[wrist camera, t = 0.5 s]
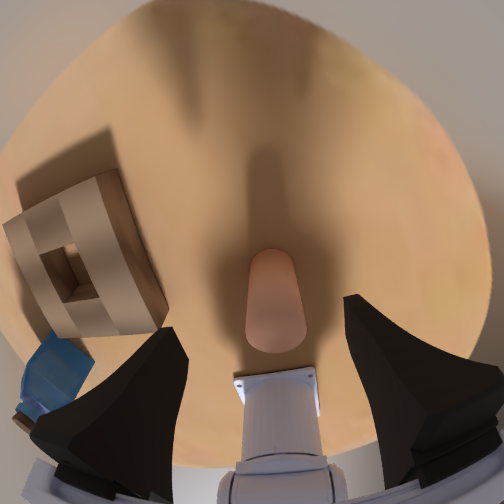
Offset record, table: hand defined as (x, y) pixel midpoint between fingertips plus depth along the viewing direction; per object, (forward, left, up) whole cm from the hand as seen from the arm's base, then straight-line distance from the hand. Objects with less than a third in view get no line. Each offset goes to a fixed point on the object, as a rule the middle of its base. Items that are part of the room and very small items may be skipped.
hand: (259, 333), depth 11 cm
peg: (-2, 0, -9) cm, 10 cm away
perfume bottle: (-9, +26, -10) cm, 29 cm away
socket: (+2, +15, -9) cm, 17 cm away
